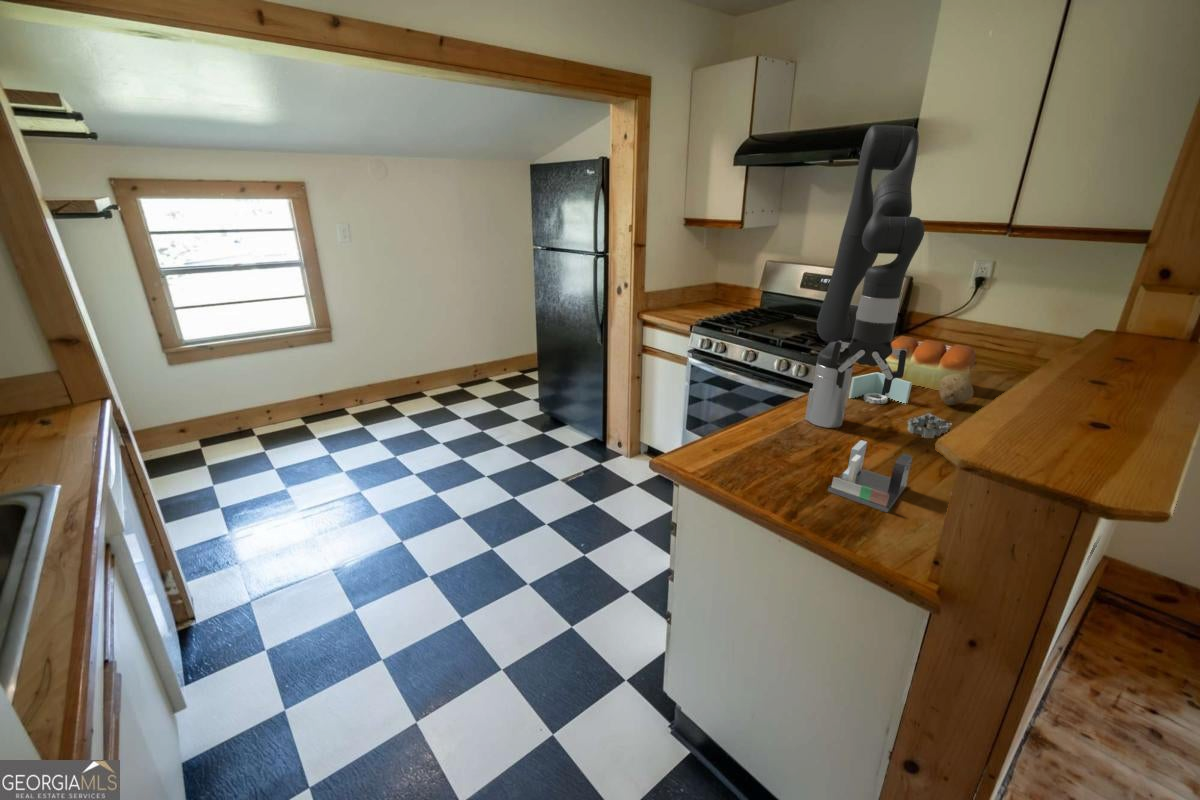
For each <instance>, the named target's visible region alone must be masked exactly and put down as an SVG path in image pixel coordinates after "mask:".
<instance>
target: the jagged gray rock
mask: <svg viewBox="0 0 1200 800" xmlns="http://www.w3.org/2000/svg"><path fill="white" fill-rule="evenodd" d="M906 424H907V425H908V426H907V431H908V432H909V433H910V434H912V435H913V434H917V435H920V436H921V435H922V436H921V438H923V437H924V439H930V438H932V439H934V438H935V435H936V436H937V437H940V436H941V435H942V434H945V433H946V432H949V428H951V427H952V425H953V423H952V422H950V423H948V422H947V420H946V419H943V418H941V417H938V416H936V415H934V414H932V413H930V412H927V413H925V414H923V415H918V416H916V417H913V418H908V419H907V422H906ZM946 434H947V433H946Z"/></svg>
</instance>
